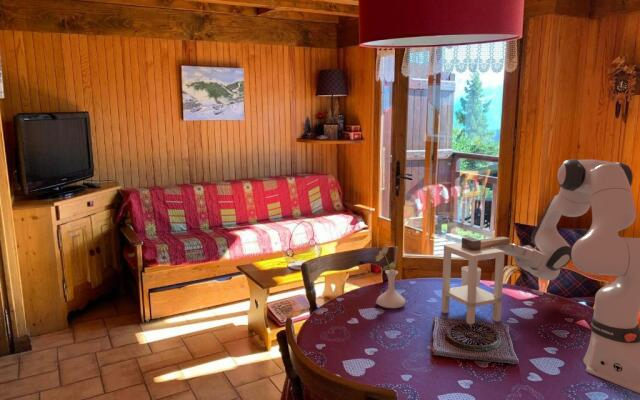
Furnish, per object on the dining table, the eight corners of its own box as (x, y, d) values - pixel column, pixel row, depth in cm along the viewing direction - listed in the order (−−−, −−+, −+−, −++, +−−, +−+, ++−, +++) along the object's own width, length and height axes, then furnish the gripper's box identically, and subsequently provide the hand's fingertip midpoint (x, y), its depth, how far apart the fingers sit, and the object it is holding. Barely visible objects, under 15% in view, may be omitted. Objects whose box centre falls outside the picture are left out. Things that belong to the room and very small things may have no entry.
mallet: (512, 245, 183) (512, 236, 183) (472, 250, 176) (473, 241, 175) (500, 241, 189) (500, 232, 188) (461, 247, 181) (461, 237, 181)
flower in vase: (391, 298, 203) (393, 238, 198) (411, 306, 193) (413, 244, 189) (367, 305, 195) (367, 243, 191) (386, 314, 186) (387, 249, 182)
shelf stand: (500, 320, 180) (504, 251, 176) (469, 327, 174) (473, 255, 170) (470, 305, 194) (473, 241, 190) (441, 311, 189) (443, 245, 184)
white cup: (482, 294, 206) (483, 271, 205) (463, 294, 206) (464, 271, 205) (476, 288, 214) (478, 265, 212) (458, 288, 214) (459, 265, 213)
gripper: (509, 244, 201) (487, 230, 195) (551, 256, 183) (528, 241, 177) (503, 258, 201) (480, 244, 195) (544, 272, 182) (521, 257, 176)
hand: (503, 243), depth 186 cm, fingers open, 8 cm apart
